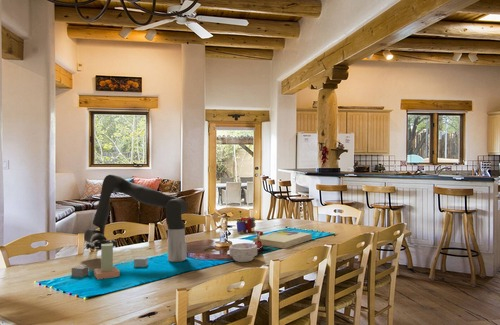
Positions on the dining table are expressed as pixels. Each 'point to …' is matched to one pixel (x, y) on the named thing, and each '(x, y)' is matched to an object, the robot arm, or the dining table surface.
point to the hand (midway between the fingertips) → (103, 246)
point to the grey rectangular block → (79, 271)
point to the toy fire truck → (259, 239)
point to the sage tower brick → (106, 257)
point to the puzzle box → (283, 239)
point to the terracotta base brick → (106, 273)
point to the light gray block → (140, 261)
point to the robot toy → (245, 224)
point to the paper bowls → (243, 251)
